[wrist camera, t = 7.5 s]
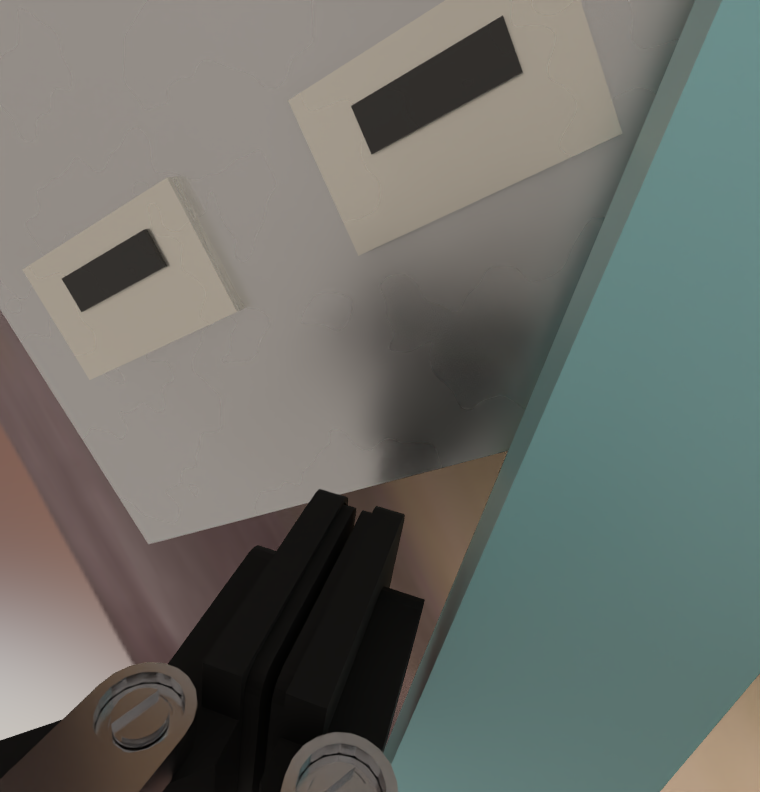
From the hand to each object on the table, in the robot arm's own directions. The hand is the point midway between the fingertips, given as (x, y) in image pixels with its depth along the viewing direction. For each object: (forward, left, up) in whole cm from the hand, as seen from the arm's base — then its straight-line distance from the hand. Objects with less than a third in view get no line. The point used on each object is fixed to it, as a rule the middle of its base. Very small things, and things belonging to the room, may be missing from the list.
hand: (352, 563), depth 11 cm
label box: (0, -6, -8) cm, 10 cm away
